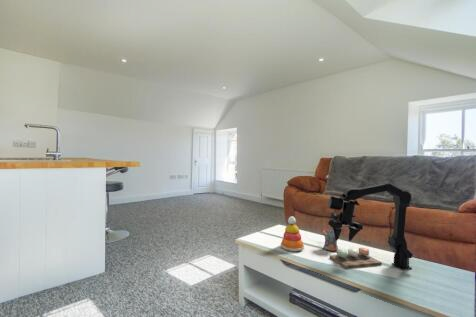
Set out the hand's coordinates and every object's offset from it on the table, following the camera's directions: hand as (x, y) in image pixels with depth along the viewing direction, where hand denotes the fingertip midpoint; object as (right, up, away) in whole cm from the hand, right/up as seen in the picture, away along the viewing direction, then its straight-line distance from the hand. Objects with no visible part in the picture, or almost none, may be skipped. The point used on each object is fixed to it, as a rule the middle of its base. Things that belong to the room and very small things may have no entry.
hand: (343, 240), depth 126 cm
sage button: (0, -8, +1) cm, 9 cm away
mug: (+1, -12, +19) cm, 23 cm away
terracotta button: (+13, -9, +4) cm, 17 cm away
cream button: (+7, -9, +3) cm, 11 cm away
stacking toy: (-23, -12, +18) cm, 32 cm away
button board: (+7, -12, +1) cm, 14 cm away
